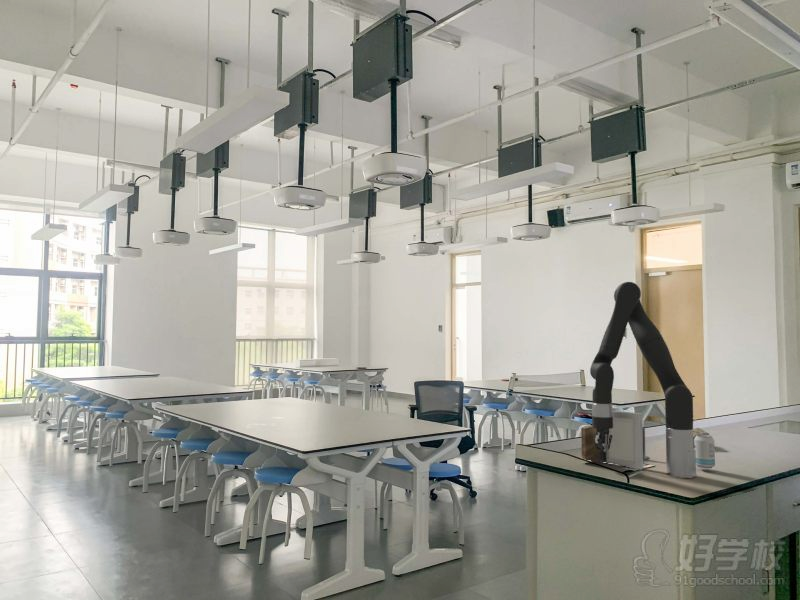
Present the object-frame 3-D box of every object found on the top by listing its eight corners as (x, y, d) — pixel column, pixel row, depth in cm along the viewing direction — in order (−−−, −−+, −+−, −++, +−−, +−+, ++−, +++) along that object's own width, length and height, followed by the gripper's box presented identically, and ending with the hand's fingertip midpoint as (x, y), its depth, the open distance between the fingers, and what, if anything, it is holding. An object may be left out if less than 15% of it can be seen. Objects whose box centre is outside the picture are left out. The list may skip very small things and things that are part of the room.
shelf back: (614, 454, 255) (614, 421, 256) (585, 464, 234) (584, 428, 235) (611, 454, 256) (610, 420, 257) (581, 464, 235) (581, 427, 236)
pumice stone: (683, 443, 285) (683, 425, 286) (711, 445, 280) (711, 427, 281) (683, 447, 273) (682, 429, 273) (712, 449, 268) (712, 431, 268)
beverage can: (697, 464, 236) (696, 433, 237) (716, 466, 231) (716, 435, 232) (692, 467, 231) (692, 435, 231) (712, 469, 226) (711, 437, 227)
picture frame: (601, 463, 237) (600, 410, 239) (605, 462, 239) (604, 409, 241) (640, 469, 226) (639, 413, 227) (644, 468, 228) (643, 413, 229)
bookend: (649, 458, 248) (648, 426, 249) (644, 460, 244) (643, 427, 245) (620, 454, 256) (619, 423, 257) (615, 456, 252) (614, 424, 253)
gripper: (604, 417, 222) (605, 465, 221) (618, 414, 232) (619, 460, 231) (585, 416, 227) (586, 462, 226) (600, 412, 237) (600, 457, 236)
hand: (603, 461), depth 229 cm, fingers closed
